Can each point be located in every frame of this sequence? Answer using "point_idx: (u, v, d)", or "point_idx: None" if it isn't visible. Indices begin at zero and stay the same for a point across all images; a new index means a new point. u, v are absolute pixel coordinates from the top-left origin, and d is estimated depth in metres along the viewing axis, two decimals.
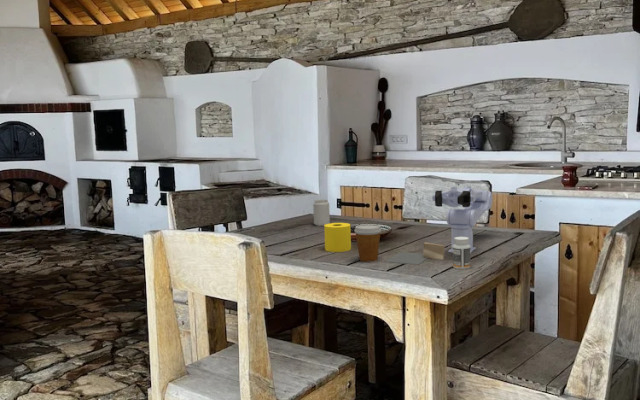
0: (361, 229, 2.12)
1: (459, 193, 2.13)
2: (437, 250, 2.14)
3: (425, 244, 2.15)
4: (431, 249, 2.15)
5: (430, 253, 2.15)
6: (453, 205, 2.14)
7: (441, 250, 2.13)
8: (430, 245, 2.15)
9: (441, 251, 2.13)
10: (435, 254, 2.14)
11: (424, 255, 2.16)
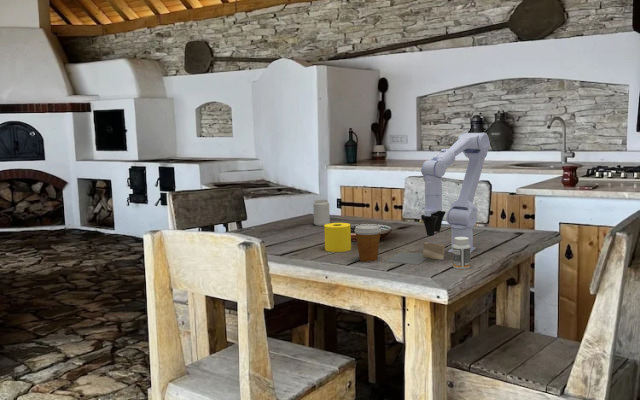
0: (361, 229, 2.12)
1: None
2: (437, 250, 2.14)
3: (425, 244, 2.15)
4: (431, 249, 2.15)
5: (430, 253, 2.15)
6: None
7: (441, 250, 2.13)
8: (430, 245, 2.15)
9: (441, 251, 2.13)
10: (435, 254, 2.14)
11: (424, 255, 2.16)
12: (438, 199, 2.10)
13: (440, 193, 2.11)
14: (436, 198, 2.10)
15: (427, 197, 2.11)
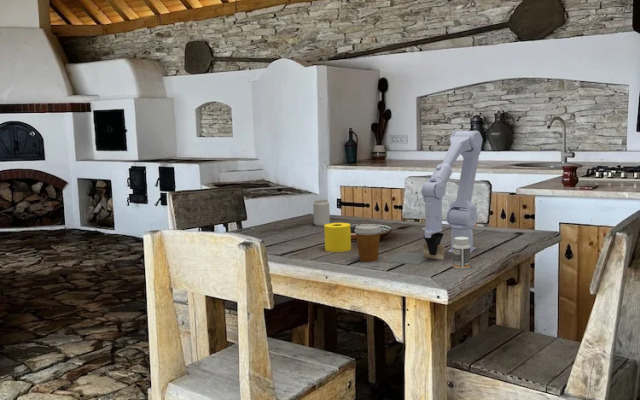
0: (361, 229, 2.12)
1: None
2: (437, 250, 2.14)
3: (425, 244, 2.15)
4: None
5: None
6: (440, 231, 2.13)
7: (441, 250, 2.13)
8: None
9: (441, 251, 2.13)
10: None
11: (424, 255, 2.16)
12: (438, 220, 2.11)
13: (440, 214, 2.12)
14: (436, 219, 2.11)
15: (427, 218, 2.12)
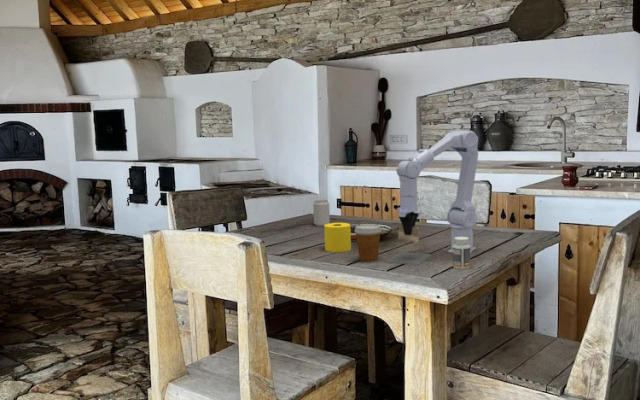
0: (361, 229, 2.12)
1: None
2: (412, 232, 2.13)
3: (400, 226, 2.14)
4: None
5: (405, 235, 2.14)
6: (415, 210, 2.12)
7: (416, 232, 2.12)
8: None
9: (416, 233, 2.12)
10: (410, 236, 2.13)
11: (399, 237, 2.15)
12: (413, 200, 2.10)
13: (414, 194, 2.10)
14: (411, 199, 2.10)
15: (402, 198, 2.11)
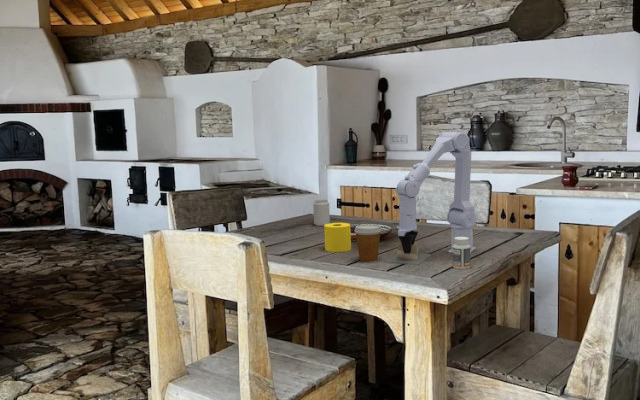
0: (361, 229, 2.12)
1: None
2: None
3: (398, 245, 2.16)
4: None
5: (404, 254, 2.15)
6: None
7: (414, 250, 2.13)
8: None
9: (414, 251, 2.13)
10: (408, 254, 2.14)
11: (398, 256, 2.16)
12: (412, 219, 2.11)
13: (413, 213, 2.11)
14: (410, 218, 2.11)
15: (401, 217, 2.12)
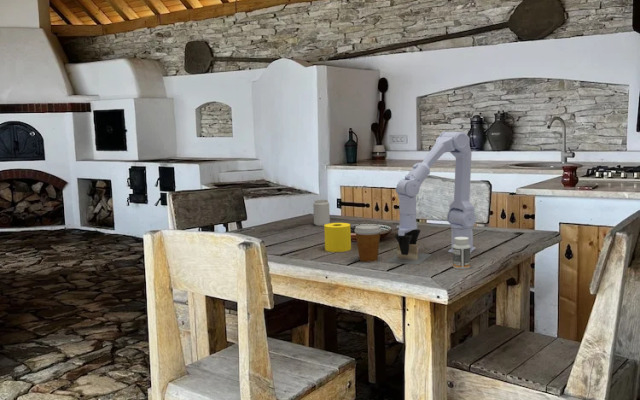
0: (361, 229, 2.12)
1: None
2: (410, 250, 2.14)
3: (398, 245, 2.16)
4: None
5: None
6: (414, 229, 2.13)
7: (414, 250, 2.13)
8: None
9: (414, 251, 2.13)
10: (408, 254, 2.14)
11: (398, 256, 2.16)
12: (412, 218, 2.11)
13: (413, 212, 2.11)
14: (410, 217, 2.11)
15: (401, 216, 2.12)
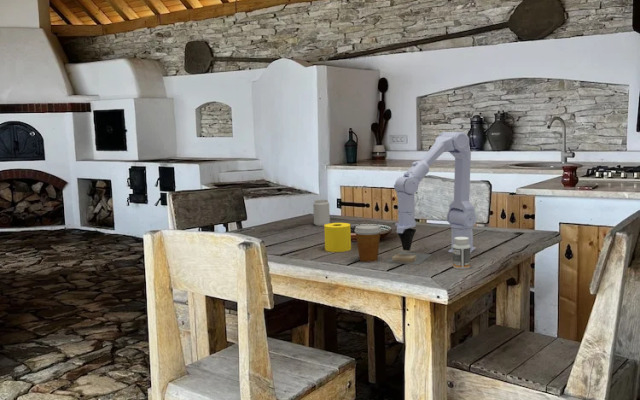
0: (361, 229, 2.12)
1: None
2: None
3: (394, 261, 2.12)
4: None
5: None
6: (413, 226, 2.12)
7: None
8: None
9: None
10: None
11: None
12: (411, 216, 2.10)
13: (412, 210, 2.10)
14: (409, 215, 2.09)
15: (400, 214, 2.10)
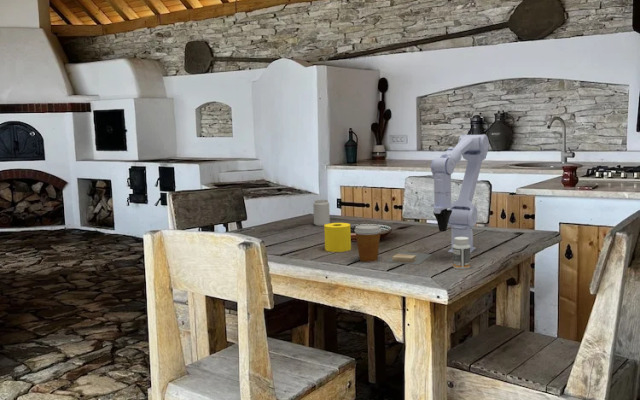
0: (361, 229, 2.12)
1: (436, 207, 2.12)
2: None
3: (394, 261, 2.12)
4: None
5: None
6: None
7: None
8: None
9: None
10: None
11: None
12: (447, 196, 2.10)
13: (450, 190, 2.10)
14: (445, 195, 2.09)
15: (436, 194, 2.10)
